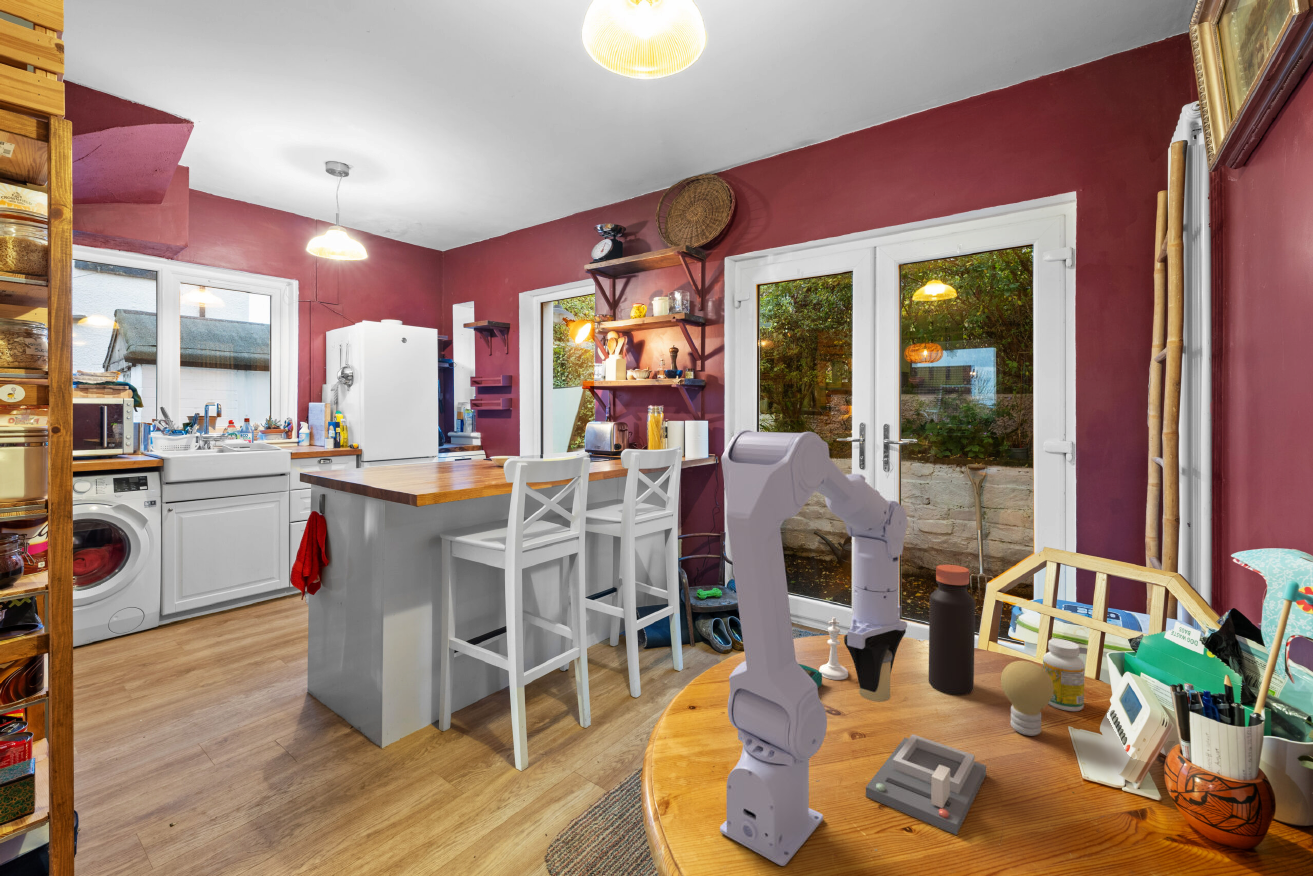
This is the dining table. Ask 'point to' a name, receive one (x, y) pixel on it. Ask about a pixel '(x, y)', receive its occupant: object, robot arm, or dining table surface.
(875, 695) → the beige cylinder
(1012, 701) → the light bulb
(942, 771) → the lever
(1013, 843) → the dining table surface
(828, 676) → the chess piece
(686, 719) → the dining table surface
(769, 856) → the robot arm
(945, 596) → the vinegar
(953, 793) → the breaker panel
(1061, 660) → the supplement bottle
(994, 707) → the dining table surface
